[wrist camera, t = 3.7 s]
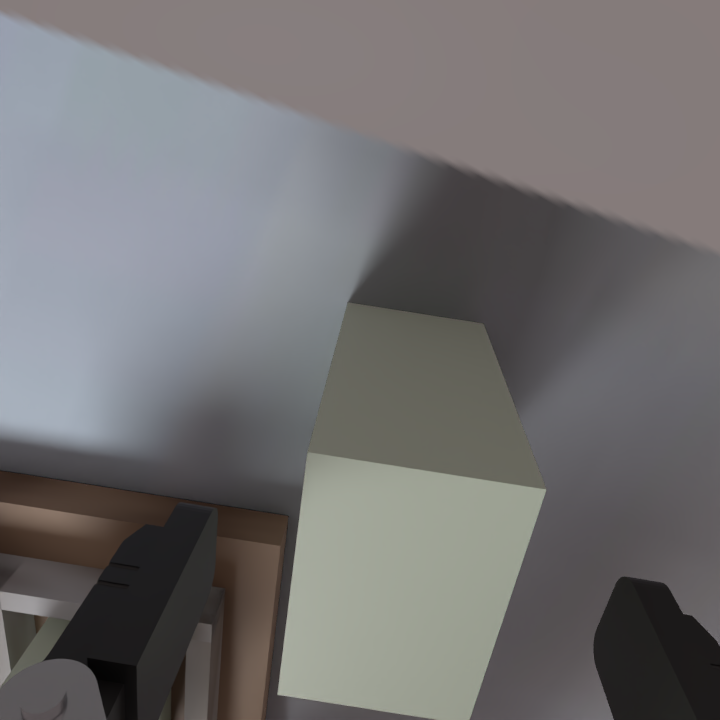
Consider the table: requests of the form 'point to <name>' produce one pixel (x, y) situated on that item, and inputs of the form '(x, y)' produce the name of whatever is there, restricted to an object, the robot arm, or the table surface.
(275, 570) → the tray
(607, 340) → the table surface
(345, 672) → the loose block
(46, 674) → the robot arm
